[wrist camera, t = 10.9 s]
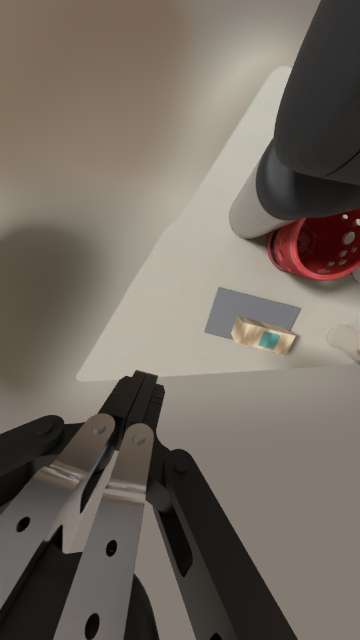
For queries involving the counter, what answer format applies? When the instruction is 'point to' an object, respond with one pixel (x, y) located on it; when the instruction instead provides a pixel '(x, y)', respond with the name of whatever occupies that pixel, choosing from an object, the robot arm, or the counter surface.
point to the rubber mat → (246, 312)
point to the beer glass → (345, 340)
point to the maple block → (262, 335)
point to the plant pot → (317, 246)
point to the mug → (356, 274)
